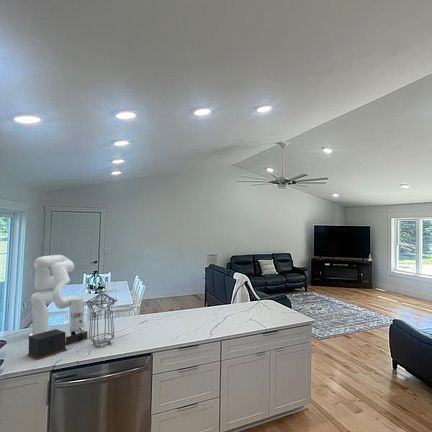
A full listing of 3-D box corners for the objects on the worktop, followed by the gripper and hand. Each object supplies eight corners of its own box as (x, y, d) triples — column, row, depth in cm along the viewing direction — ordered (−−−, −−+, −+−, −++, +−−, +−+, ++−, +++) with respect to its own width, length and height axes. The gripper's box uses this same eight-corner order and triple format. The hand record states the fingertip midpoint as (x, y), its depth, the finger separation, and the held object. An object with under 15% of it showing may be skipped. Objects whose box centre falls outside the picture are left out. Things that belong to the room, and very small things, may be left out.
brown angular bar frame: (87, 338, 237) (87, 331, 237) (66, 345, 225) (66, 337, 225) (77, 335, 243) (77, 328, 243) (56, 341, 231) (56, 333, 231)
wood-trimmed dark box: (27, 355, 208) (27, 336, 208) (56, 346, 222) (56, 328, 222) (38, 360, 201) (38, 340, 201) (67, 350, 215) (67, 332, 215)
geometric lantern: (93, 350, 215) (93, 297, 215) (84, 344, 225) (85, 293, 226) (118, 343, 227) (118, 292, 227) (109, 338, 237) (109, 289, 238)
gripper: (89, 315, 230) (89, 340, 230) (75, 311, 239) (75, 335, 239) (78, 318, 224) (78, 343, 223) (64, 314, 232) (64, 339, 232)
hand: (76, 339), depth 231 cm, fingers open, 8 cm apart
